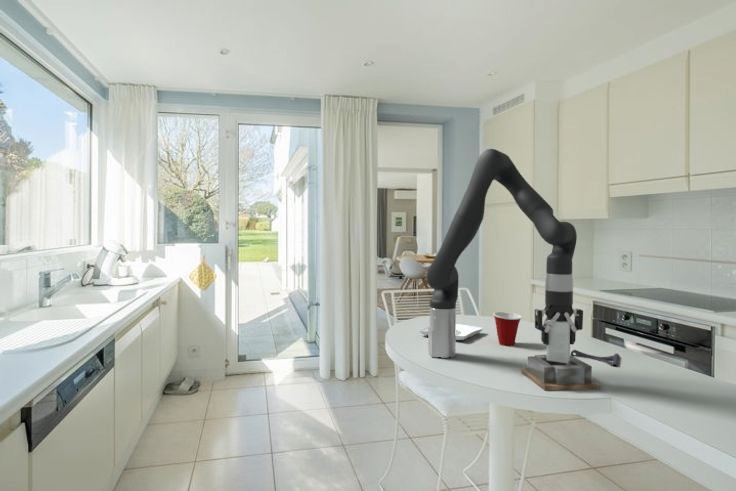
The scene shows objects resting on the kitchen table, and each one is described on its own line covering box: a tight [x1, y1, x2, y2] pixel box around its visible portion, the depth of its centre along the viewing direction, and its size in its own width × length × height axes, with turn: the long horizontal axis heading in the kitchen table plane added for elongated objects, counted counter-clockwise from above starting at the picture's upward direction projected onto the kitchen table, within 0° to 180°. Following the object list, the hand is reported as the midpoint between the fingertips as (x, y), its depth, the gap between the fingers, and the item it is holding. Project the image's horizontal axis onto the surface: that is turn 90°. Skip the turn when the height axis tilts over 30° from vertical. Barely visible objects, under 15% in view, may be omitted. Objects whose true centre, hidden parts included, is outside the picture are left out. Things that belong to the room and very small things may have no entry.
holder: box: [520, 354, 601, 391], centre depth 130 cm, size 16×16×6 cm
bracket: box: [570, 349, 620, 368], centre depth 152 cm, size 14×15×3 cm
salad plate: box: [418, 323, 484, 341], centre depth 187 cm, size 21×21×3 cm
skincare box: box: [546, 320, 571, 363], centre depth 129 cm, size 6×4×12 cm
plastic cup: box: [492, 311, 523, 347], centre depth 171 cm, size 11×11×12 cm
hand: (558, 344), depth 129 cm, fingers closed on skincare box, 7 cm apart
